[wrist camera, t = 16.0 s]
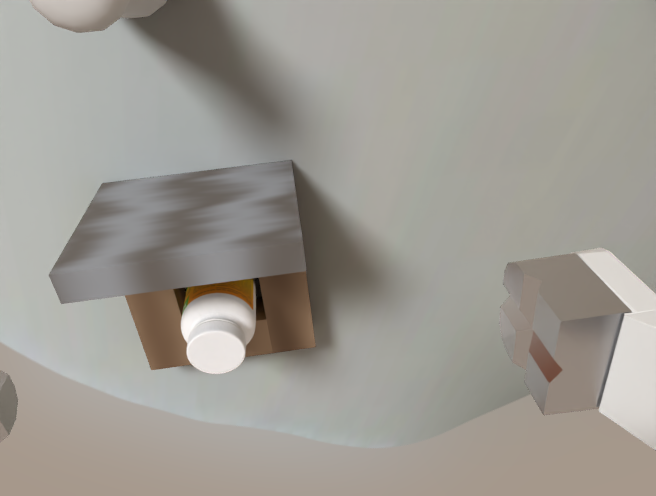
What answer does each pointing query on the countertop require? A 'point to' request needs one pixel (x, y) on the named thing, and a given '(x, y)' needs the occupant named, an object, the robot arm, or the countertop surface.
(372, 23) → the countertop surface
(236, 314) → the supplement bottle
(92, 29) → the salt shaker
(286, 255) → the socket dock
